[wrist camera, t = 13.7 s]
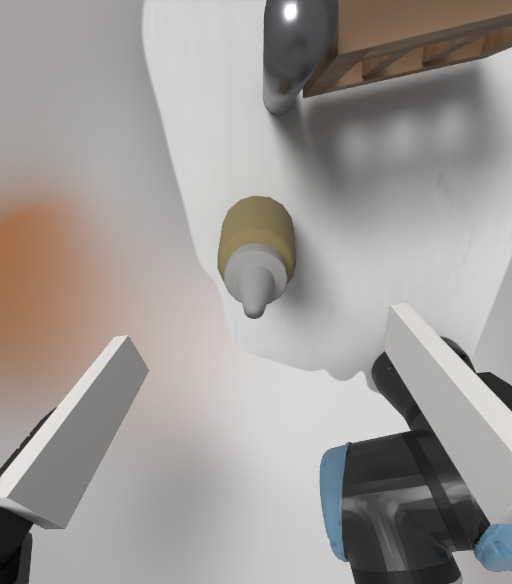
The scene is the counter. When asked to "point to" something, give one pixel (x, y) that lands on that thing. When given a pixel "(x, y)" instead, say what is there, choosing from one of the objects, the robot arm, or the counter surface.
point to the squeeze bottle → (256, 252)
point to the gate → (408, 39)
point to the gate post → (294, 46)
